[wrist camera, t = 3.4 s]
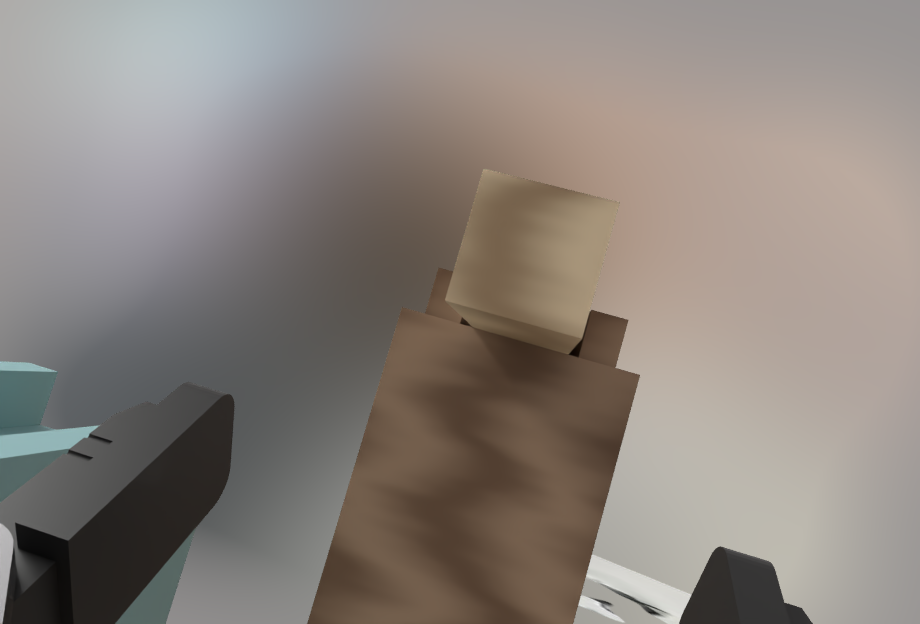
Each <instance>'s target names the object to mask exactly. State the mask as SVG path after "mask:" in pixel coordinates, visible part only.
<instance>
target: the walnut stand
mask: <svg viewBox="0 0 920 624" xmlns="http://www.w3.org/2000/svg"><path fill="white" fill-rule="evenodd" d="M452 274H453V272H452V271H449V270H446V269H442V268H439V269H438V272H437V275H436V279H435V282H434V285H433V289H432V292H431V296H430V299H429V302H428V306H427V309H426V312H425V314H424V313H420V312H417V311H414V310H410V309H407V308H403V307H402V309H401V313H400V316H399V319H398V323H397V326H396V330H395V333H394V336H393V340H392V343H391V346H390V349H389V353H388V356H387V359H386V363H385V366H384V369H383V373H382V376H381V380H380V383H379V386H378V389H377V393H376V396H375V399H374V403H373V406H372V410H371V413H370V416H369V419H368V423H367V426H366V430H365V433H364V436H363V440H362V443H361V446H360V450H359V453H358V456H357V460H356V463H355V466H354V470H353V473H352V476H351V479H350V483H349V486H348V490H347V493H346V496H345V500H344V503H343V506H342V510H341V513H340V516H339V520H338V523H337V526H336V530H335V533H334V536H333V540H332V543H331V546H330V550H329V553H328V557H327V560H326V563H325V566H324V570H323V573H322V576H321V580H320V583H319V586H318V590H317V593H316V596H315V600H314V603H313V606H312V610H311V614H310V616H309V620H308V623H307V624H573V622H574V618H575V615H576V611H577V607H578V603H579V600H580V596H581V592H582V589H583V584H584V581H585V577H586V574H587V570H588V566H589V563H590V559H591V555H592V551H593V548H594V544H595V540H596V537H597V533H598V529H599V525H600V522H601V518H602V514H603V510H604V507H605V503H606V499H607V495H608V492H609V488H610V484H611V481H612V477H613V473H614V469H615V466H616V462H617V458H618V455H619V451H620V447H621V443H622V440H623V436H624V432H625V429H626V425H627V421H628V418H629V414H630V410H631V407H632V402H633V399H634V395H635V392H636V388H637V384H638V380H639V377H640V375H638V374H635V373H631V372H628V371H624V370H621V369H617V368H615V367H616V364H617V360H618V356H619V352H620V349H621V345H622V342H623V338H624V334H625V331H626V326H627V323H628V320H626V319H623V318H619V317H615V316H612V315H608V314H604V313H601V312H597V311H594V310H591V311H590V312H589V315H588V319H587V323H586V326H585V330H584V333H583V337H582V339H581V341H580V342H579V343H578V344H577V345H576V346H575V348H574V349H573V350H572V351H571V352H570V353H569V354H564V353H561V352H557V351H554V350H550V349H547V348H543V347H540V346H536V345H533V344H529V343H526V342H522V341H519V340H515V339H512V338H508V337H505V336H501V335H498V334H494V333H491V332H487V331H484V330H480V329H477V328H473V327H472V326H471V325H470V324H469V323H468V322H467V321H466V320H465V319H464V318H463V317H462V316H461V315H460V314H459V313H457V312H456V311H455V310H454V309H453V308H452V307H451V306H450V305H449V304H448V303H447V302H446V301H445V298H446V295H447V291H448V288H449V285H450V281H451V278H452Z"/></svg>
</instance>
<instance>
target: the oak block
mask: <svg viewBox="0 0 920 624" xmlns="http://www.w3.org/2000/svg"><path fill="white" fill-rule="evenodd" d="M618 207H619V202H616V201H612V200H608V199H604V198H600V197H596V196H592V195H588V194H584V193H580V192H575V191H572V190H567V189H564V188H560V187H556V186H552V185H548V184H544V183H540V182H535V181H531V180H528V179H524V178H519V177H516V176H512V175H507V174H503V173H499V172H495V171H491V170H487V169H484V170H483V173H482V176H481V180H480V183H479V186H478V190H477V193H476V196H475V200H474V203H473V207H472V211H471V214H470V217H469V220H468V224H467V227H466V231H465V234H464V237H463V241H462V244H461V248H460V251H459V254H458V258H457V261H456V264H455V268H454V271H453V274H452V278H451V281H450V285H449V288H448V291H447V295H446V298H445V301H446V302H447V303H448V304H449V305H450V306H451V307H452V308H453V309H454V310H455V311H456V312H457V313H459V314H460V315H461V316H462V317H463V318H464V319H465V320H466V321H467V322H468V323H469V324H470V325H471V326H472V327H473V328H477V329H480V330H484V331H487V332H491V333H494V334H498V335H501V336H505V337H508V338H512V339H515V340H519V341H522V342H526V343H529V344H533V345H536V346H540V347H543V348H547V349H550V350H554V351H557V352H561V353H564V354H569V353H570V352H571V351H572V350H573V349H574V348H575V346H576V345H577V344H578V343H579V342H580V341H581V339H582V337H583V333H584V330H585V326H586V323H587V319H588V315H589V312H590V308H591V304H592V301H593V297H594V294H595V290H596V286H597V283H598V279H599V275H600V272H601V268H602V265H603V261H604V257H605V254H606V251H607V247H608V243H609V239H610V236H611V232H612V229H613V225H614V222H615V218H616V214H617V211H618Z"/></svg>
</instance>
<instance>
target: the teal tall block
mask: <svg viewBox="0 0 920 624" xmlns="http://www.w3.org/2000/svg"><path fill="white" fill-rule="evenodd" d="M57 373H58V372H57V371H53V370H50V369H47V368H44V367H41V366H38V365H34V364H31V363H22V362H21V363H20V362H0V502H2V501H3V500H4V499H5V498H7V497H8V496H9V495H11V494H12V493H13V492H14V491H16V490H17V489H18V488H20V487H21V486H22V485H24V484H25V483H26V482H27V481H29V480H30V479H31V478H33V477H34V476H35V475H36V474H38V473H39V472H40V471H42V470H43V469H44V468H45V467H47V466H48V465H49V464H51V463H52V462H53V461H54V460H56V459H57V458H58V457H60V456H61V455H62V454H67V453H68V451H69V449H70V448H71V447H73V446H74V445H75V444H76V443H78V442H79V441H80V440H82V439H83V438H84V437H85V438H88V436H89V433H91V432H92V431H93V430H95V429H96V428H97V427H98V426H92V427H81V428H71V429H63V430H62V429H61V430H54V429H51V428H48V427H45V426H42V425H40V423H41V420H42V418H43V414H44V411H45V409H46V406H47V403H48V400H49V397H50V394H51V391H52V388H53V385H54V382H55V379H56V376H57ZM195 529H196V528H195ZM195 529H194V530H193V532H192V533H191V534H190V535H189V536H188V538H187V539H186V540H185V541H184V542H183V543H182V545H181V546H180V547H179V548H178V549H177V551H176V552H175V553H174V554H173V555H172V557H171V558H170V559H169V560H168V561H167V563H166V564H165V565H164V566H163V567H162V568H161V570H160V571H159V572H158V573H157V574H156V576H155V577H154V578H153V579H152V580H151V582H150V583H149V584H148V585H147V586H146V588H145V589H144V590H143V591H142V592H141V593H140V595H139V596H138V597H137V598H136V599H135V601H134V602H133V603H132V604H131V605H130V607H129V608H128V609H127V610H126V611H125V613H124V614H123V615H122V616H121V617H120V618H119V620H118V621H117V622H116V623H115V624H166V621H167V617H168V614H169V611H170V608H171V605H172V601H173V598H174V595H175V592H176V589H177V586H178V583H179V579H180V576H181V573H182V570H183V567H184V564H185V561H186V557H187V554H188V551H189V548H190V545H191V542H192V538H193V535H194V532H195Z"/></svg>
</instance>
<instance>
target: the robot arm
mask: <svg viewBox="0 0 920 624" xmlns="http://www.w3.org/2000/svg"><path fill="white" fill-rule="evenodd" d="M233 420H234V400H233V397H232V396H231V395H230V394H226V393H223V392H220V391H216V390H213V389H210V388H207V387H204V386H200V385H197V384H193V383H190V382H187V383H184V384H182V385H181V386H179V387H178V388H177V389H176V390H175V391H173V392H172V393H171V394H170V395H168V396H167V397H166V398H165V399H164V400H162V401H161V402H160V403H159V404H157V405H156V404H152V403H149V402H144V403H142V404H140V405H137V406H134V407H132V408H129V409H127V410H124V411H122V412H119V413H116V414H114V415H113V416H111V417H110V418H109V419H108V420H106V421H105V422H104V423H102V424H101V425H100V426H98V427H97V428H96V429H95V430H93V431H92V432H91V433H89V436H88V438H85V437H84V438H83V439H82V440H80V441H79V442H78V443H76V444H75V445H74V446H73V447H71V448H70V449H69V451H68V453H67V454H62V455H61V456H60V457H58V458H57V459H56V460H54V461H53V462H52V463H51V464H49V465H48V466H47V467H45V468H44V469H43V470H42V471H40V472H39V473H38V474H36V475H35V476H34V477H33V478H31V479H30V480H29V481H27V482H26V483H25V484H24V485H22V486H21V487H20V488H18V489H17V490H16V491H14V492H13V493H12V494H11V495H9V496H8V497H7V498H5V499H4V500H3V501H2V502H0V624H115V623H116V622H117V621H118V620H119V618H120V617H121V616H122V615H123V614H124V613H125V611H126V610H127V609H128V608H129V607H130V605H131V604H132V603H133V602H134V601H135V599H136V598H137V597H138V596H139V595H140V593H141V592H142V591H143V590H144V589H145V588H146V586H147V585H148V584H149V583H150V582H151V580H152V579H153V578H154V577H155V576H156V574H157V573H158V572H159V571H160V570H161V568H162V567H163V566H164V565H165V564H166V563H167V561H168V560H169V559H170V558H171V557H172V555H173V554H174V553H175V552H176V551H177V549H178V548H179V547H180V546H181V545H182V543H183V542H184V541H185V540H186V539H187V538H188V536H189V535H190V534H191V533H192V532H193V530H194V529H195V528H196V527H197V526H198V524H199V523H200V522H201V521H202V519H203V518H204V517H205V516H206V515H207V514H208V512H209V511H210V510H211V509H212V508H213V506H214V505H215V504H216V503H217V501H218V500H219V498H220V496H221V494H222V492H223V490H224V488H225V485H226V483H227V480H228V476H229V472H230V463H231V449H232V434H233ZM679 624H813V623H812V622H811V621H810V619H809V618H808V616H807V615H806V614H805V612H804V611H803V609H802V608H799V607H797V606H793V605H790V604H787V603H784V600H783V596H782V593H781V589H780V586H779V582H778V579H777V575H776V572H775V569H774V567H773V565H772V563H771V562H769V561H766V560H763V559H760V558H756V557H753V556H750V555H747V554H743V553H740V552H736V551H733V550H730V549H727V548H724V547H718V548H716V549H715V550H714V552H713V553H712V555H711V557H710V558H709V561H708V563H707V565H706V567H705V569H704V571H703V573H702V575H701V577H700V579H699V581H698V583H697V585H696V587H695V589H694V591H693V593H692V596H691V598H690V600H689V602H688V604H687V606H686V608H685V610H684V612H683V614H682V617H681V619H680V623H679Z"/></svg>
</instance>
